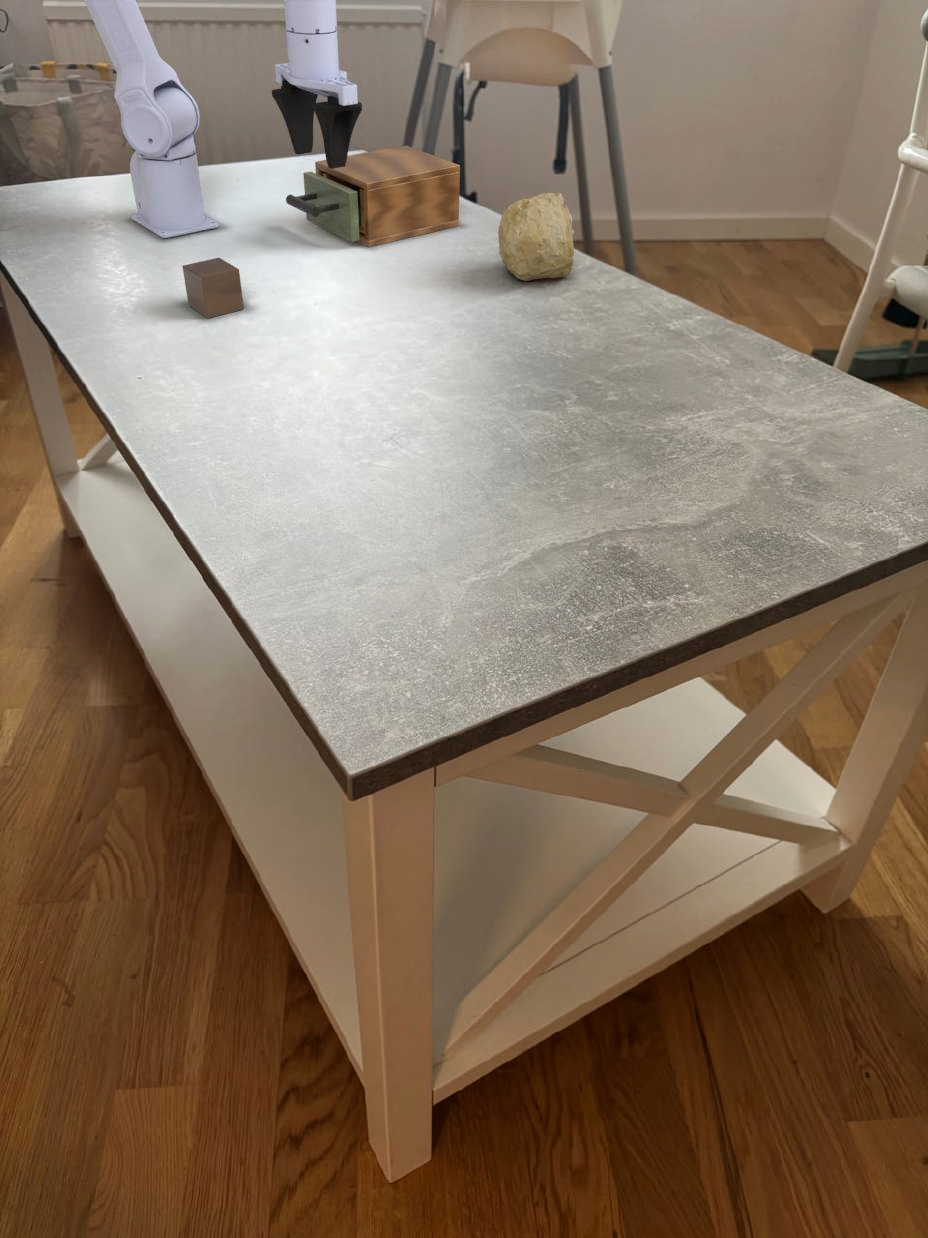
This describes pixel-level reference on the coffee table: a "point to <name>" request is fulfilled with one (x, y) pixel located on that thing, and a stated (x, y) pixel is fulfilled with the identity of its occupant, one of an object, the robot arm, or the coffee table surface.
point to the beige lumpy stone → (537, 237)
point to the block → (213, 287)
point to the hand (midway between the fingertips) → (320, 159)
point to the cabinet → (402, 192)
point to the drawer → (332, 204)
